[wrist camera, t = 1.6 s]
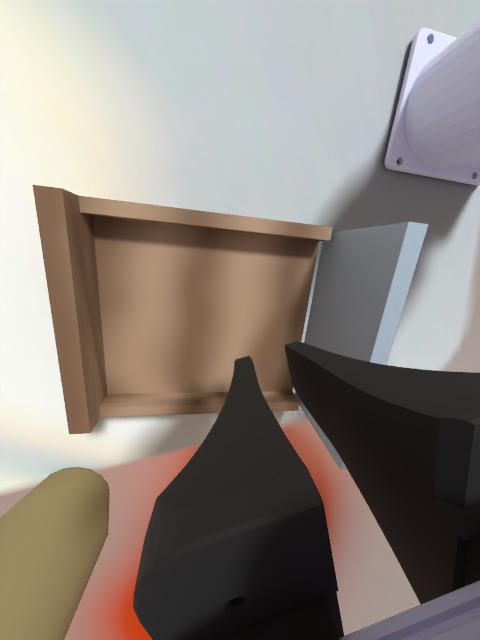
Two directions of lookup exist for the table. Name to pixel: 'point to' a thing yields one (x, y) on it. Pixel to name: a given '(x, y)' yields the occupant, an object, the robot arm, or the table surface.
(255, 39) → the table surface
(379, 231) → the panel
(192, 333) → the tray
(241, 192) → the table surface
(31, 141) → the table surface
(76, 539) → the squeeze bottle
